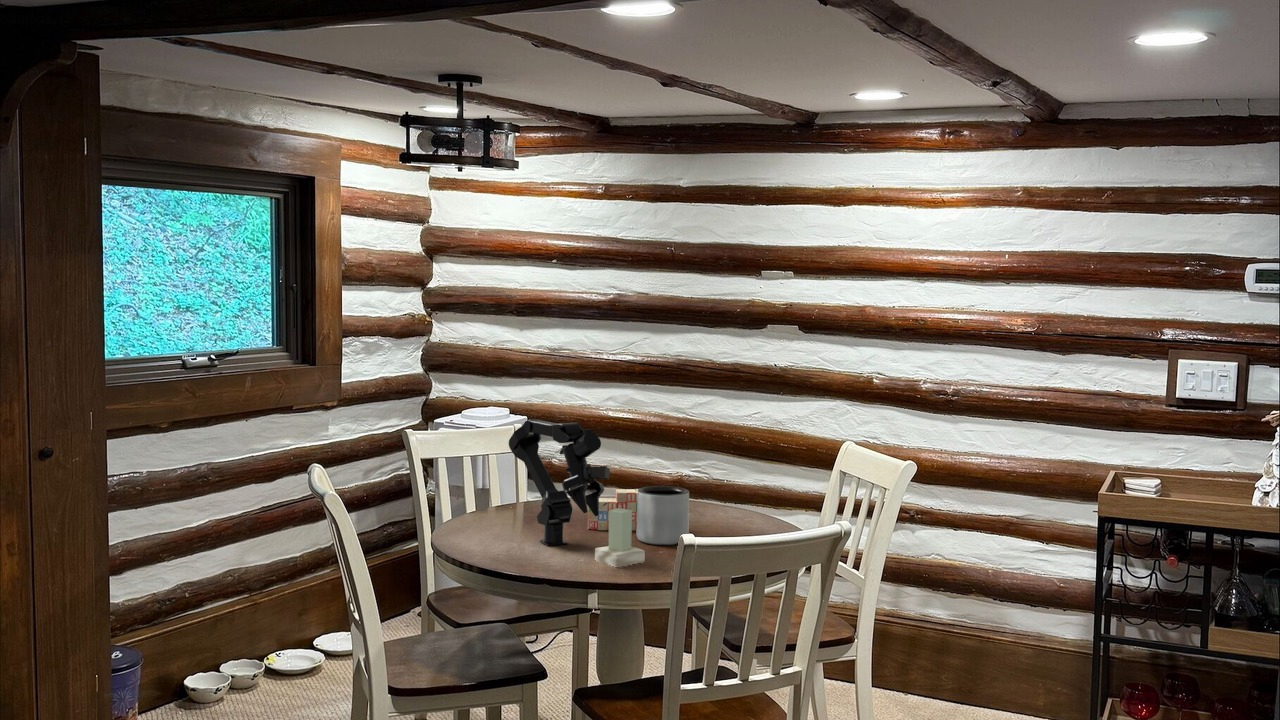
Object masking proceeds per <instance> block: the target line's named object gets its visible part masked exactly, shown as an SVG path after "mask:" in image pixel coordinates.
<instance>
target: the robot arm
mask: <svg viewBox="0 0 1280 720" xmlns="http://www.w3.org/2000/svg"><path fill="white" fill-rule="evenodd" d="M541 435H542V436H547V437H551V438H552V441H555V442H557V443H558V444H564V445H562V447H561V449H560V451H559V455H561V456H562V455H564V458H565V462H566V466H567V468H566V473H568V474H569V476H570V477H569V478H566V479H564V480H563V482H562V485H561V486H562V489H563V490H558V489H557V487H556V485H555V484H554V482H553V481H552V478H551V476H550V475H549V472H548V471H547V469H546V467H545V464H544V463H543V462H542V459H541V457H540V456H539V448H540V445H539V443H540V441H541V440H542V436H541ZM601 441H602V440H601V439H600V438H599V436H598V435H597V434H596V433H594V432H593V430H592V429H591V428H589V429H588V428H587V429H583V427H581V426H580V423H579V422H566V423H564V422H563V423H556V422H553V421H548V420H547V421H546V420H542V419H540V418H536V419H533V418H532V419H527V420H526V421H524V422H523V424H522V425H521V426H520V427H519V428H518V429H517V428H516V429H515V431H514V432H513V433H512V435H511V437H510V438H509V440H508V446H509V449H510V451H511V453H512V454H513V455H514V457H515V458H517V459H518V460H520V461H522V462H523V463H524V465H525V467H526V469H527V471H528V473H529V475H530V477H531V479H532V481H533V483H534V485H535V487H536V489H537V490H538V493H539V495H540V497H541V504H540V508H541V510H540V512H539V513H538V514H537V516H536V519H537V523H538V524H539V525H543V529H544V531H543V539H540V540H539V542H540V543H542V544H543V545H544V546H547V547H551V546H552V547H553V546H561V545H567V544H568V542H567V541H565V540H564V524H566V523H567V524H568V523H570V522H571V518H572V517H571V516H572V514H573V505H572V503H571V501H572V500H573V502H574V503H575V505H576V506H577V507H578V508H579V509H580V510H581V512H582V513H583V514H588V507H589V508H590V510H591V511H592V513H593V514H594V515H595V516H598V515H599V498H601V495H602V494H603V493H604V491H605V487H604V484H603V483H601V482H599V481H597V479H599V480H609V479H610V475H611V474H612V472H611V469H610V468H609V467H608V466H607V465H599V466H592V465H591V464H589V463H588V461H587V458H588V457H590V456H591V455H592V454H594V453H596V452H597V451H598V450H600V448H601V445H602V442H601ZM565 443H566V445H565ZM567 443H568V444H567ZM569 497H570V498H571V499H570V498H569Z"/></svg>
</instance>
